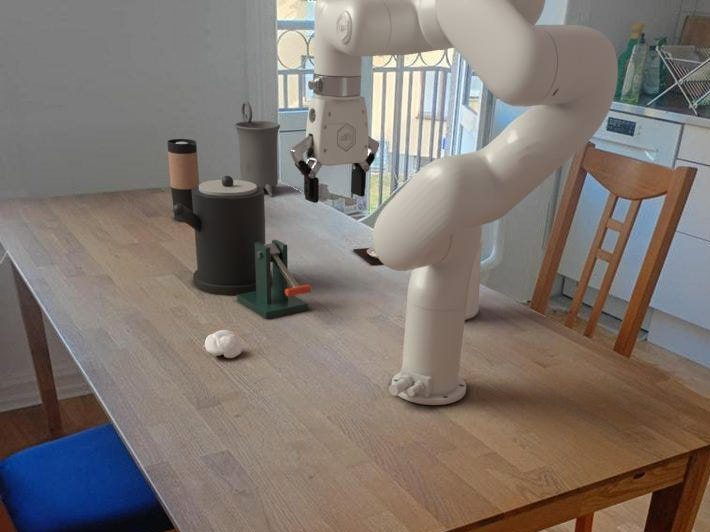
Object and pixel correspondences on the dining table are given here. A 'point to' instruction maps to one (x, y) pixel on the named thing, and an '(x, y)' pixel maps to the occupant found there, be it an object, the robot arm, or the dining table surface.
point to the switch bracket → (265, 297)
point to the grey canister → (258, 150)
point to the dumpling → (223, 344)
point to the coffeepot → (474, 286)
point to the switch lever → (286, 273)
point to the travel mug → (183, 171)
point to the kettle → (225, 234)
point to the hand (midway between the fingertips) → (335, 197)
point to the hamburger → (368, 255)
